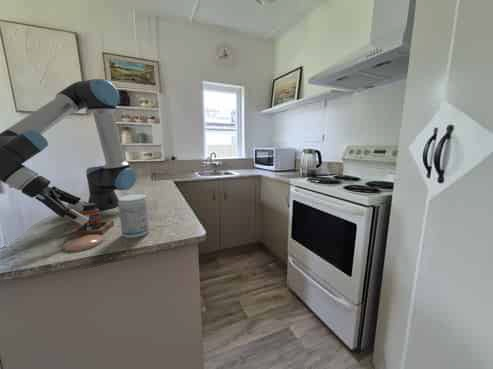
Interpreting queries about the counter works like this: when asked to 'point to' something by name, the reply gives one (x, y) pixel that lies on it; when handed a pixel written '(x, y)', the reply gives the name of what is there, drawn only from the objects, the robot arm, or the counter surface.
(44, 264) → the counter surface
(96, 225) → the supplement bottle
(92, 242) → the peach dome coaster
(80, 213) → the decorative fruit
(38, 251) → the counter surface
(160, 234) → the counter surface
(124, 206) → the supplement tub
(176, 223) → the counter surface
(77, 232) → the holder
